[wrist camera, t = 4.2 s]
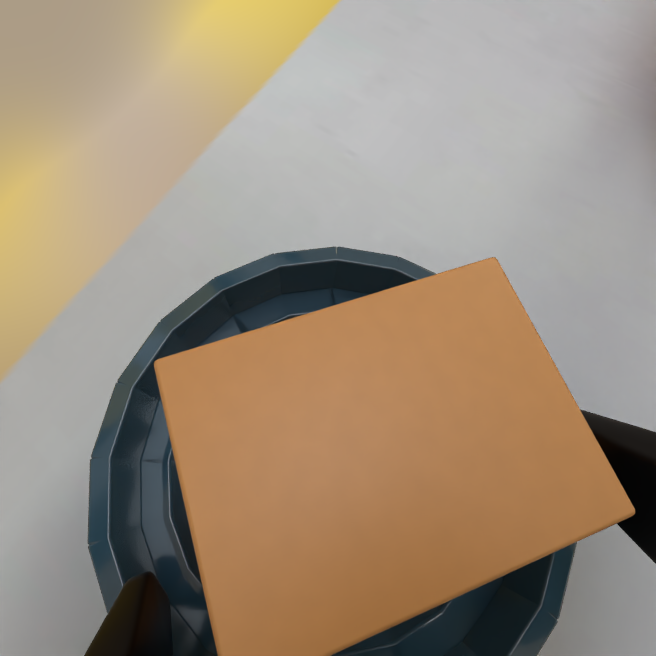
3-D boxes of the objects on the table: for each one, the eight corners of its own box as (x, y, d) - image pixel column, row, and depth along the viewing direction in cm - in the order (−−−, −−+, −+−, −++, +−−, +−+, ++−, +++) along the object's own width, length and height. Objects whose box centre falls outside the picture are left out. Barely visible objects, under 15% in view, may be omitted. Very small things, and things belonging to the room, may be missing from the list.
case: (413, 488, 16) (647, 517, 5) (279, 542, 15) (222, 716, 4) (374, 391, 17) (498, 250, 6) (249, 435, 16) (145, 355, 5)
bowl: (420, 751, 14) (490, 915, 9) (80, 549, 15) (-31, 586, 10) (533, 390, 19) (621, 358, 13) (265, 261, 20) (253, 188, 15)
